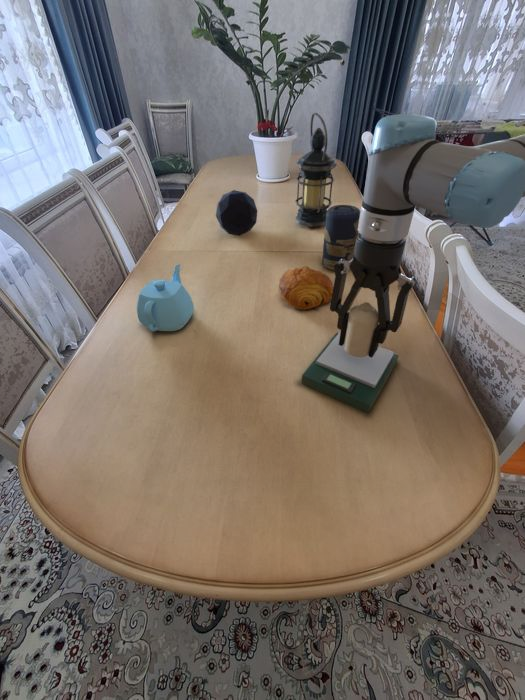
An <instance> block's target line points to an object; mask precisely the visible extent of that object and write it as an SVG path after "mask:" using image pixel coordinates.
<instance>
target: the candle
mask: <svg viewBox="0 0 525 700" xmlns="http://www.w3.org/2000/svg"><path fill="white" fill-rule="evenodd" d="M348 312H349V318H348V324H347V329H346V335H345V341H344V350H345V351H346V352H347V353H348V354H350V355H352V356H355V357H365V356H368V355H369V352H370V348H371V343H372V339H373V335H374V331H375V329H376V327H377V326H378V325H379V317H378V308H377V307H374V305H372V304H371V303H370V302H365V301H364V302H363V303H360V304H357V305H355V306H353V307H350V309H349V311H348Z"/></svg>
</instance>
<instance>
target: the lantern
mask: <svg viewBox="0 0 525 700" xmlns="http://www.w3.org/2000/svg"><path fill="white" fill-rule="evenodd" d="M315 116H316V117H318V119H319V120H320V122H321V124H322V127H323V129H321V127H317V128H315V130H314V132H313V126H314V117H315ZM309 125H310V127H309V129H310V130H309V131H310V139H309V144H310V147H311V148H310V149H311V150H310V151H309V152H307V153H305V154H304V155H303V156H301V157H300V158H298V161H297V162H296V163H295V166H296V167H297V168H298V169H299V170H300V172H299V173H298V174H297V177H296V179H295V180H296V183H297V190H296V191H297V192H296V199H295V201H294V204H295V205H296V206H297V207H299V208H298V209H297V213H296V215H295V220H296V221H297V222H298V224H299V225H300V226H304V227H307V228H308V227H309V228H315V227H317V228H318V227H322V226H324V225H326V214H327V210H328V209H329V208H330V207H331V206H332V204H333V201H332V191H333V190H332V189H333V184H334V183H335V179H334V176H333V174H332V170H333V169H335V168H336V167H337V162H336V160H335V159H334V158H333V157H332V156H331V155H330V154H328V153H327V150H328V138H329V137H328V130H327V125H326V123H325V121H324V119H323V117H322V116H321V115H320V114H319V113H317V112H314V113H312V115H311V117H310V124H309ZM300 179H303V180H302V181H300ZM328 179H330V181H329V182H327V180H328ZM300 185H302V196H300ZM329 185H330V186H329ZM326 186H329V187H330V189H329V197H326ZM299 196H300V197H299ZM300 200H301V204H300V203H299V201H300ZM325 200H326V201H328V204H325V203H324V202H325Z"/></svg>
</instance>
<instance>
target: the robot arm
mask: <svg viewBox="0 0 525 700" xmlns="http://www.w3.org/2000/svg"><path fill="white" fill-rule="evenodd" d="M436 130H437V121H436V119H435V118H433V117H431V116H428V115H422V114H411V113H410V114H409V113H408V114H402V113H401V114H391V115H387V116H384V117H382V118H380V119H379V120H378V122H377V123H376V125H375V128H374V133H373V137H372V141H371V146H370V149H369V151H368V162H367V168H366V178H365V182H364V183H365V185H364V190H363V197H362V202H361V207H360V211H361V212H360V218H359V225H358V234H357V236H356V242H355V248H354V255H353V258H352V260H351V261H345V259H340V260H339V261H338V262H337V263H336V264H335V265H334V270H333V271H334V276H335V277H334V281H333V293H332V297H331V298H330V304H329V310H330V312H332V313H333V312H335V314H337V316H338V318H337V322H336V323H337V324H336V329H338V330H340V332H339V333H340V339H339V345H340V346H343V344H344V341H345V335H346V329H347V324H348V318H349V312H350V309H351V308H352V306H353V304H354V302H355V300H356V298H357V296H358V295H359V293H360V291H361V289H369V290H370V291H373V292H374V294H375V298H376V303H377V310H378V317H379V324H378V326H377V327H376V329H375V331H374V335H373V339H372V343H371V348H370V352H369V357H371V358H372V357H373V356H374V354H375V352H376V351H377V348H378V347H379V345H383V344H384V343H385V341H386V339H387V337H388V333H389V332H390V331H391V332H392V333H397V332H398V330H399V328H400V327H401V325H402V323H403V318H404V314H405V311H406V307H407V302H408V300H409V299H408V298H409V294H410V291H411V290H412V289H413V287H414V285H415V284H416V282H417V279H416V277H414V276H410V277H407V276H406V275H404V274H403V273H402V269H401V262H402V259H403V255H404V251H405V247H406V243H407V240H406V238H407V237H408V235H409V232H410V229H411V224H412V220H413V216H414V212H415V209H416V207H418V208H420V209H424V210H426V211H429V212H431V213H434V214H437V215H440V216H443V217H445V218H448V219H450V220H452V221H453V222H455V223H459V224H460V225H469V226H471V227H476V228H480V229H489V228H494V227H496V226H498V225H499V224H501V222H503V221H504V219H505V218H506V217H509V216H510V215H511V214H512V212H513V211H514V210H515V209H516V208H517V206H518V204H520V201H521V200H522V198H524V197H525V133H523V134H521V135H517V136H514V137H511V138H506V139H501V140H497V141H492V142H488V143H483V144H480V145H475V146H467V145H460V144H454V143H448V142H444V141H440V140H438V139H435V138H436V136H437V135H436V132H437V131H436ZM349 271H351V274H352V275H353V278H354V282H353V284H352V285H351V287H350V290H349V292H348V293H347V295H346V298H345V299H344V301H343V303H342V300H343V296H344V292H345V286H346V281H347V275H348V272H349ZM395 282H397V289H398V294H397V297H396V300H395V305H394V310H393V314H392V319H391V305H390V293H389V292H390V285H392V284H393V283H395Z"/></svg>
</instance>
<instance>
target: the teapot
mask: <svg viewBox="0 0 525 700" xmlns="http://www.w3.org/2000/svg"><path fill="white" fill-rule="evenodd" d="M180 271H181V264H177V265H175V267H174V269H173V271H172V280H171V279H153V280H150V281H149V282H147V283H146V284H145V285H144V287H142V288H141V290H140V292H139V293H138V298H137V302H136V314H137V319H138V321H139V322H140V323H141V324H142V325H143V326H145V327H147V328H148V330H149V332H152V333H153V332H156V331H159V332H175V331H179V330H181V329H183V327H184V326H186V325H187V323H188V322H189V321H190V319H191V317H192V315H193V313H194V310H195V306H194V302H193V299H192V297H191V295H190V293H189V292H188V290H187V289H186V288H185V287H184V285H183V283H182V279H181V276H180Z"/></svg>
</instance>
